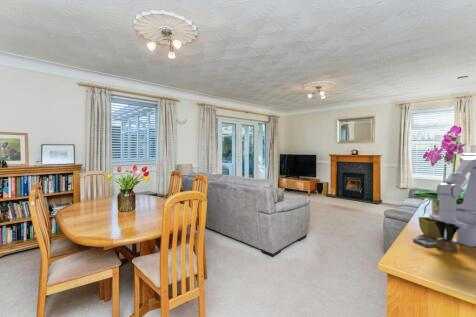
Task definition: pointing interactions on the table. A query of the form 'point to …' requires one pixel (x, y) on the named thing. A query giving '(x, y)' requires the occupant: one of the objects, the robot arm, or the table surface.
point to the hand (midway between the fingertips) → (446, 238)
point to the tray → (425, 241)
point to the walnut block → (446, 244)
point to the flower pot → (429, 227)
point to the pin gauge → (445, 235)
